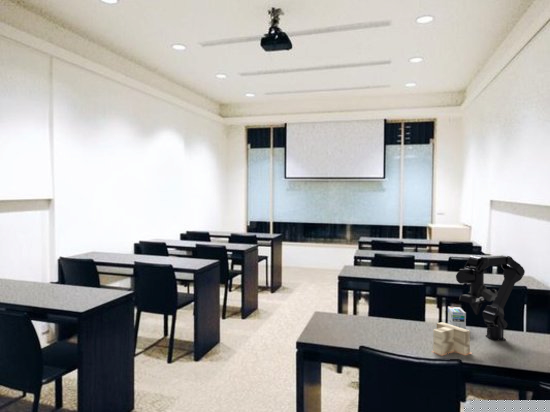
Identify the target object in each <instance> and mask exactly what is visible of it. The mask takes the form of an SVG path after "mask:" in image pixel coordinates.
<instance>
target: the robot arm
mask: <svg viewBox="0 0 550 412" xmlns="http://www.w3.org/2000/svg"><path fill="white" fill-rule="evenodd" d="M498 265H500V266H501V268H502V269H503V272H502V275H503V281H502V283H501V285H500V287H499V288H498V290H497V289H495V288H492V289H487V286H486V284H485V282H484V281H485V280H484V279H485V278H484V277H485V274H487V273H488V271H487V268H489V267H490V266H498ZM458 270H459V271H458V272H457V273H456V275H455V279H456V282H457V283H458V284H461V285H462V284H468V287H469V291H468V293H467V294H460V295H459V302H465V303H468V304H469V305H470V307H471V309H472V311H473V313H474V315H479V313H480V310H481V307H482V305H483V304H484V303H486V302H492V303H491V304H490V305H489V304H487V305H486V306H485V307H484V310H483V311H482V317H483V318H482V319H483V322H484V324H485V325H487V328H486V334H485V337H486V338H489V339H490V340H492V341H506V340H507V339H506V337H504V331H505V330H506V329H507V327H508V322H507V321H506V319H504V317H505V313H504V308H505V306H506V304H507V302H508V300H509V297H510V295H511V292H512V291H513V289H514V287H515V284H516V283H518V282H519V281H521V280H522V278H523V277H524V275H525V271H526V270H525V268H524V267H523V266H522V265H521V264H520V263H519V262H517V261H516V260H515V259H514V258H513V257H512V256H510V255H504V254H501V255H497V256H496V255H495V256H480V255H479V256H478V255H470V256H469V258H468V260H467V261H466V263H465V265H464V266H463V268H460V269H458Z"/></svg>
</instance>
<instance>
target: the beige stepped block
mask: <svg viewBox="0 0 550 412" xmlns="http://www.w3.org/2000/svg"><path fill="white" fill-rule="evenodd" d="M432 331H433V333H432V334H433V336H432V337H433V344H432V346H433V347H432V348H433V350H432V351H433V352H435V353H434V354H436V353H437V354H436V355H438V354H440V355H439V356H441V355H443V354H446V353H449V352H452V351H455V352H454V353H456V352H458V353H457V354H459V353H461V354H460V355H462V354H463V356H465V354H468V353H470V352H471V348H470V347H471V345H470V344H471V340H470V339H471V331H470V330H469V329H463V328H460V327H457V326H453V325H450V324H448V322H443V321H441V322H437V323H436V328H434V329H433V330H432ZM433 352H432V353H433ZM446 355H447V354H446ZM443 356H444V355H443Z"/></svg>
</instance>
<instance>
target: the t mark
mask: <svg viewBox="0 0 550 412" xmlns="http://www.w3.org/2000/svg"><path fill="white" fill-rule="evenodd" d="M430 352H431V353H433V354H436V355H439V356H441V357H443V356H445V355H446V356H447V355H449V353H450V354H452V353H456V354H460V355H461V356H462V355H463V354H461V353H458V352H455V351H452V352H449V353H448V354H447V353H446V354H443V355H440V354H437V353H435V352H433V350H432V351H430ZM471 354H473V352H471V351H470V353H468V354H465V355H463V356H466V357H467V356H468V355H471Z"/></svg>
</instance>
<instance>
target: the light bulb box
mask: <svg viewBox="0 0 550 412" xmlns="http://www.w3.org/2000/svg"><path fill="white" fill-rule="evenodd" d="M466 319H467V312H466V311H464V309H463V308H462V307H459V306H457V307H456V306H447V324H450V325H453V326H457V327H460V328H463V329H466V328H467V327H466V326H467V320H466ZM466 330H467V329H466Z"/></svg>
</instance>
